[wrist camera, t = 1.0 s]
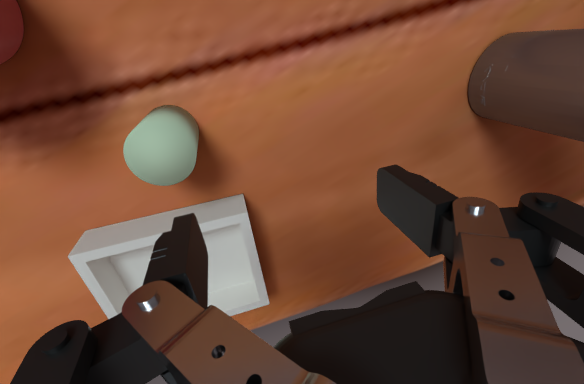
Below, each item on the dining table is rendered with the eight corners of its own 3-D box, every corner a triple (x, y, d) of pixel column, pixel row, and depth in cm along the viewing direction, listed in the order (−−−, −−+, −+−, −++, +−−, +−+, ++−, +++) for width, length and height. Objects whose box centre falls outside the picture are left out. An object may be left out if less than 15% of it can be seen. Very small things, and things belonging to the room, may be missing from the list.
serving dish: (242, 193, 31) (247, 212, 28) (263, 279, 37) (269, 304, 34) (85, 230, 28) (67, 256, 25) (135, 317, 35) (127, 347, 31)
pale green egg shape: (190, 100, 26) (184, 115, 20) (205, 150, 28) (203, 177, 22) (135, 110, 25) (111, 129, 19) (154, 160, 27) (139, 192, 21)
